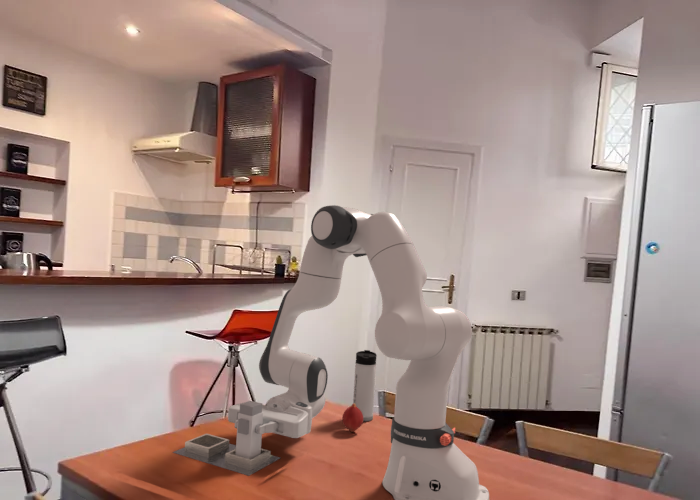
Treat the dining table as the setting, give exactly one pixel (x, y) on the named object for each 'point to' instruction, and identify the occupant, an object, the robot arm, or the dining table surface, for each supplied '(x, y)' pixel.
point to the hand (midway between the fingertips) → (247, 427)
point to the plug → (249, 430)
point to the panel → (224, 454)
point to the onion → (352, 418)
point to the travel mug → (365, 383)
